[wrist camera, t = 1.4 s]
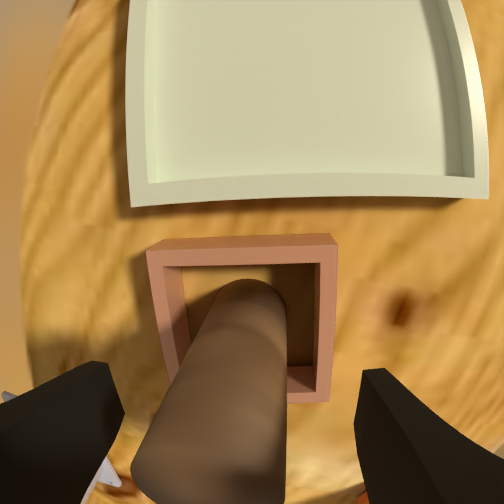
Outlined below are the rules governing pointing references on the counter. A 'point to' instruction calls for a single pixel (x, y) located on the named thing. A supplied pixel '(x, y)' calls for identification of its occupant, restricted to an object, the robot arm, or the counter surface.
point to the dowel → (224, 408)
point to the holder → (245, 253)
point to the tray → (302, 100)
